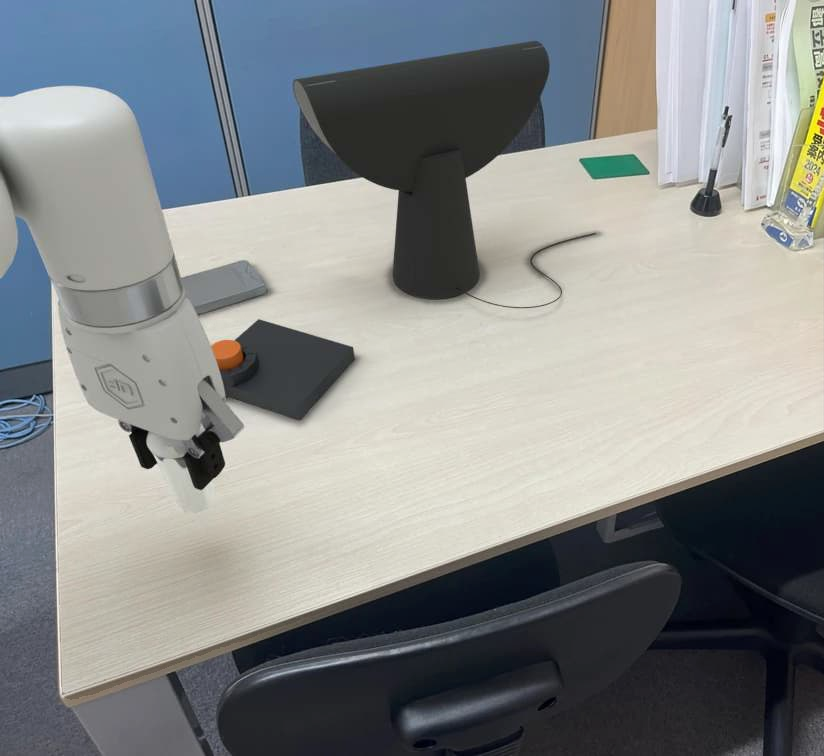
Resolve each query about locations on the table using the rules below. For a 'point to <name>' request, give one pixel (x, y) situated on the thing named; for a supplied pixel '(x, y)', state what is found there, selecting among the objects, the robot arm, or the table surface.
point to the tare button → (227, 354)
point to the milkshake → (179, 473)
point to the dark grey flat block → (284, 368)
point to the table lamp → (429, 146)
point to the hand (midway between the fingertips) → (183, 465)
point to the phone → (223, 286)
